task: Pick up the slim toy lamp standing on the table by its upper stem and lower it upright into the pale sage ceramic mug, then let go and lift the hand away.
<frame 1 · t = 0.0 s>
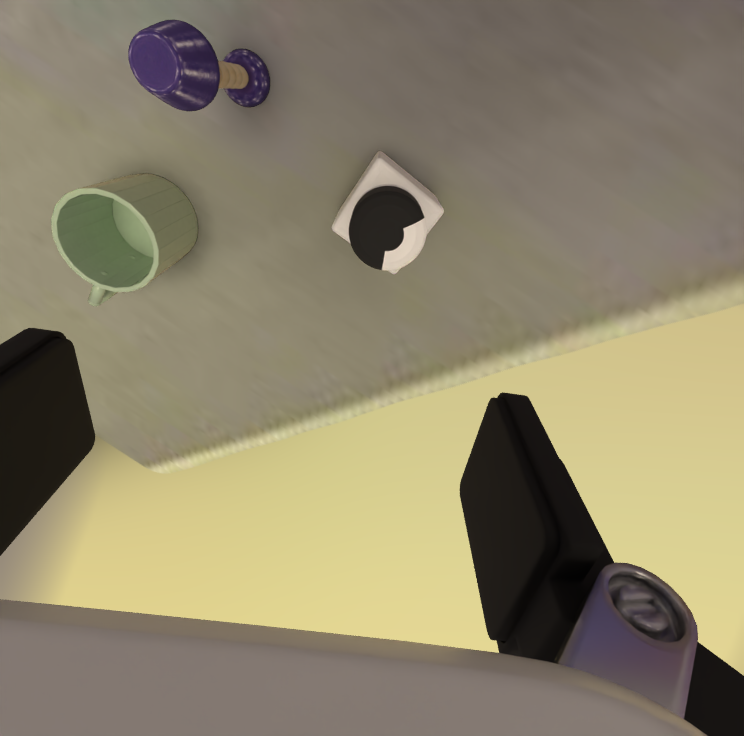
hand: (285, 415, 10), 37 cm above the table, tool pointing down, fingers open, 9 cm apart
medicine bottle: (386, 204, 43), on the table
mug: (155, 219, 44), on the table
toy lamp: (242, 79, 38), on the table
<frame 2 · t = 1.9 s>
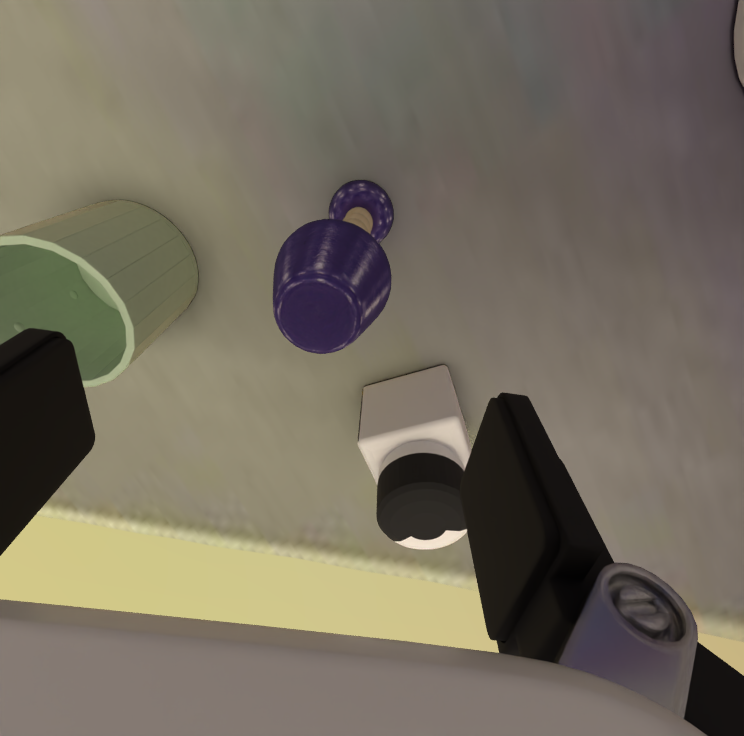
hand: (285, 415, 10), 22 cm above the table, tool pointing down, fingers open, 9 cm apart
medicine bottle: (415, 406, 36), on the table
mug: (136, 264, 31), on the table
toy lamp: (356, 210, 28), on the table
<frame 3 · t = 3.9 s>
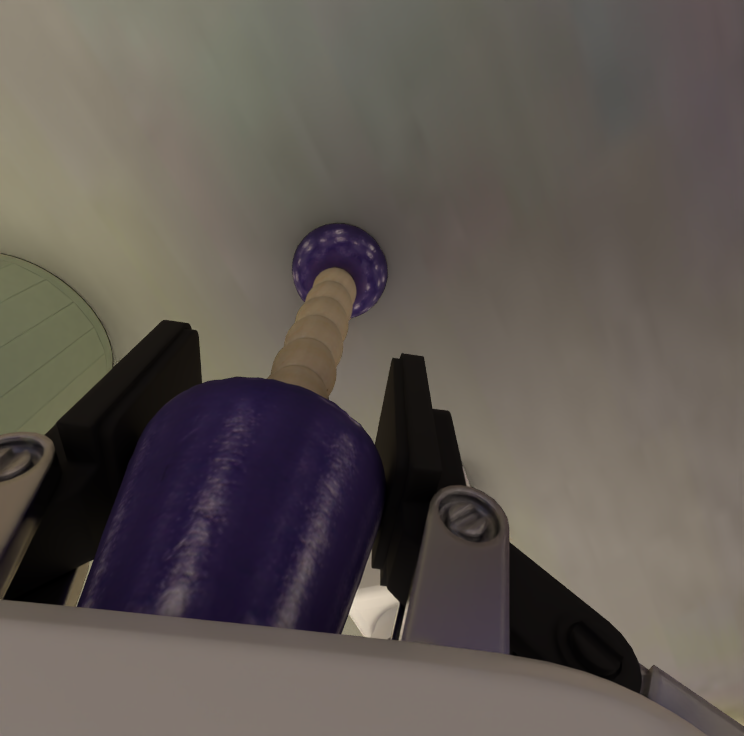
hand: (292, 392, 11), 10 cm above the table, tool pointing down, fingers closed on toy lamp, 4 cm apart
medicine bottle: (419, 509, 27), on the table
mug: (22, 338, 21), on the table
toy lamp: (333, 265, 19), on the table, touching gripper
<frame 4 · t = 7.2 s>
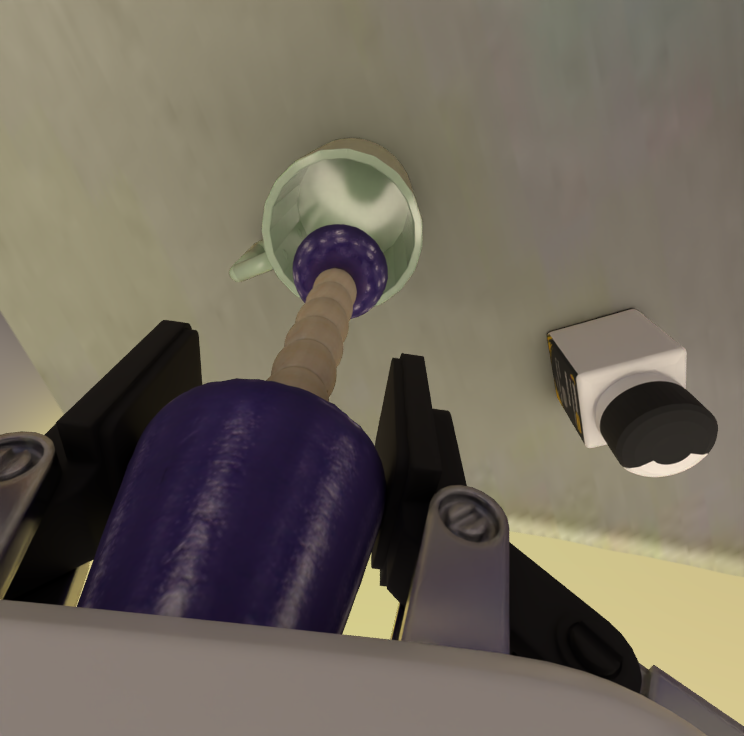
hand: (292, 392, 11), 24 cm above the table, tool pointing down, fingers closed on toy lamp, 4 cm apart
medicine bottle: (592, 353, 37), on the table
mug: (353, 205, 31), on the table
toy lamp: (334, 266, 19), point 14 cm above the table, touching gripper
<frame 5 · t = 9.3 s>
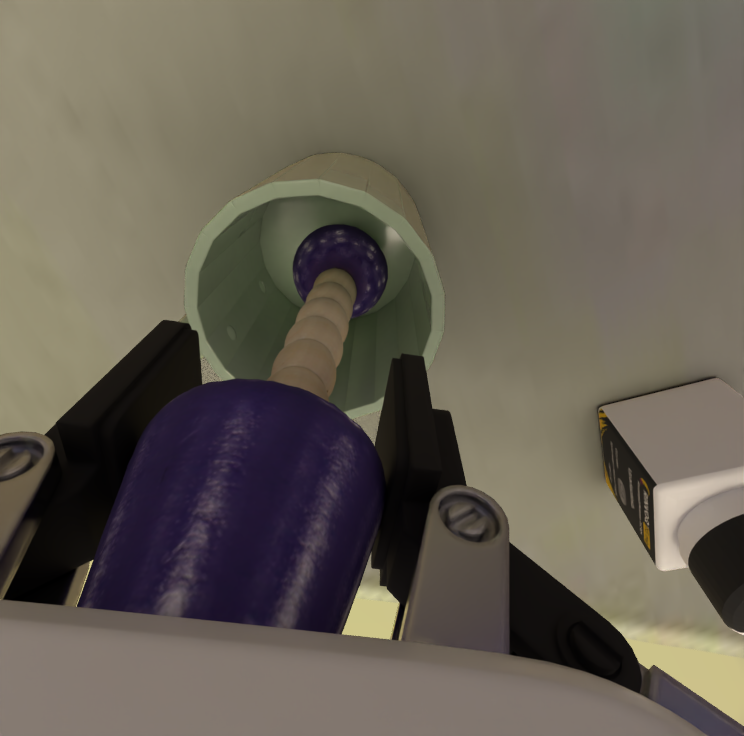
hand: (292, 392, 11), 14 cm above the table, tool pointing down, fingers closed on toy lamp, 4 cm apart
medicine bottle: (655, 430, 28), on the table
mug: (339, 245, 22), on the table
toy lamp: (334, 266, 19), point 4 cm above the table, touching gripper
when the fingers open (10 cm above the table, at t = 10.7 s): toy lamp stays where it is, resting on mug.
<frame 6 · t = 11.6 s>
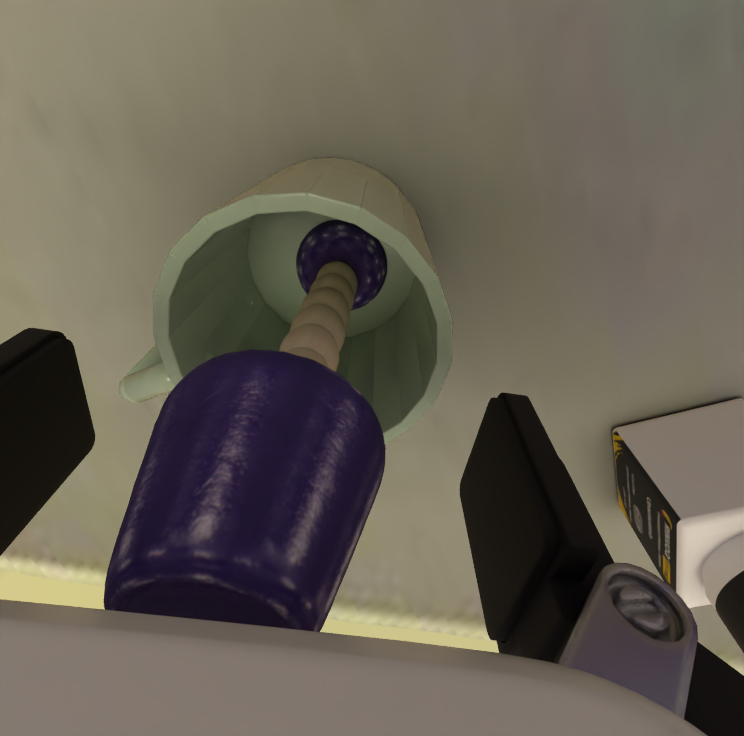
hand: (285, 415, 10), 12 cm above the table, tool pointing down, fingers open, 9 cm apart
medicine bottle: (672, 452, 27), on the table
mug: (333, 258, 21), on the table, touching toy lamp
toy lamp: (335, 260, 20), resting on mug
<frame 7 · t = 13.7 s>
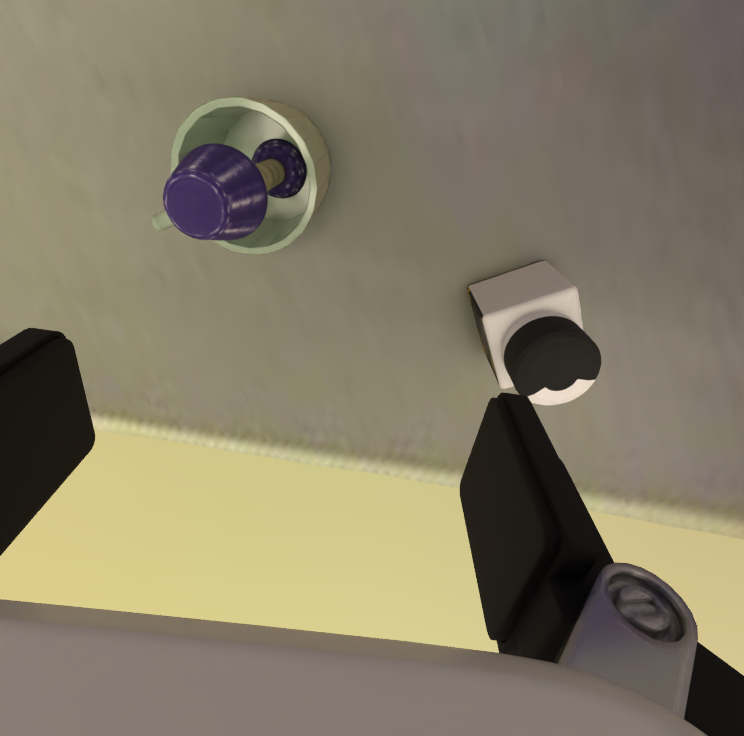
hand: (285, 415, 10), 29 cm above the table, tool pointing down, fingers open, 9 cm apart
medicine bottle: (512, 306, 40), on the table
mug: (275, 166, 34), on the table, touching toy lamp
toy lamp: (276, 166, 33), resting on mug
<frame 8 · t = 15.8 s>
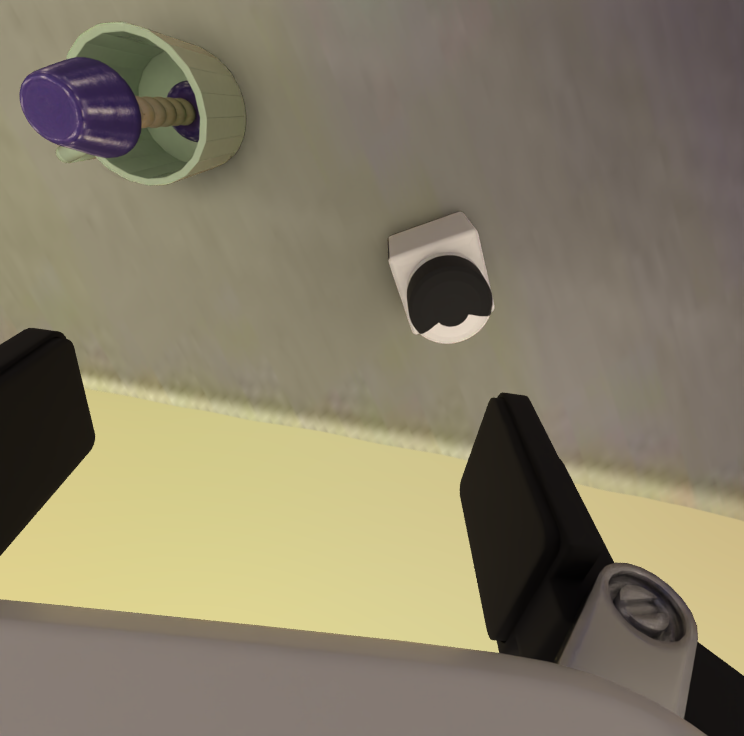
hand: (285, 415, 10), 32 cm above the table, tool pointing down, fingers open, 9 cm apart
medicine bottle: (434, 259, 41), on the table
mug: (192, 110, 35), on the table, touching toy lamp
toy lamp: (191, 109, 34), resting on mug
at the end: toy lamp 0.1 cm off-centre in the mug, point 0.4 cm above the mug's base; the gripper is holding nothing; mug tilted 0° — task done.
